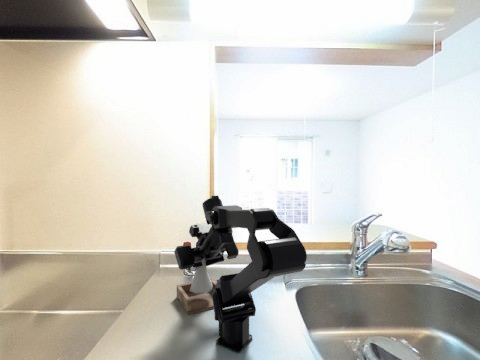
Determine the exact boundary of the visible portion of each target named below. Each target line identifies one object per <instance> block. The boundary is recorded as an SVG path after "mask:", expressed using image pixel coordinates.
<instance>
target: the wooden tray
mask: <svg viewBox="0 0 480 360" xmlns="http://www.w3.org/2000/svg"><path fill="white" fill-rule="evenodd" d="M210 280H211V282H212V285H213V289H215V285H216V284H217V281H215V280H214V279H213V278H212V277H211V278H210ZM191 284H192V282H188V283H184V284H180V285H179V284H178V285H176V298H177V300H178V301H179V302H180V304H181V306H182V307H183V309H184V310H185V312H186V314H187V315H188V316H189V315H194V314H197V313H198V314H199V313H201V312H205V311H208V310H211V309H214V306H213V300H212V295H213V289H212V290H211V291H209V292H208V293H197V294H196V293H193V292H191V291H190V288H191Z"/></svg>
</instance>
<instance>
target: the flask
mask: <svg viewBox="0 0 480 360" xmlns="http://www.w3.org/2000/svg"><path fill="white" fill-rule="evenodd" d="M202 264H203V266H201V267H199V268H197V269H195V272H194V275H193V276H194V277H193V280H192V281H191V283H192V284H191V288H190V291H191V292H193V293H196V294H197V293H208V292H209V291H211V290H212V289H213V285H212V282H211V280H210V279H211V278H210V275H209V272H208V269H207V266H206V260H205V259H203V260H202Z"/></svg>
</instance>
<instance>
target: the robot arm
mask: <svg viewBox="0 0 480 360" xmlns="http://www.w3.org/2000/svg"><path fill="white" fill-rule="evenodd" d="M202 209H203V213H204V218H205V221H206V222H200V223H196V224H192V225H190V227H189V230H188V231H189V232H188V233H189V235H190V236H191V238H196V239H197V242H196V244H197V246H198V247H192V246H191V245H190V244H184V245H177V246H176V247H175V250H174V251H173V253H174V257H175V259H176V260H175V261H176V262H177V265H178V269H179V270H181V271H182V270H187V269H190V268H194V270H196V269H197V268H199V267H201V266H203V264H202V260H203V259H205V260H206V267H209V266H212V265H215V264H218V263H222V262H224V261H225V257H224V254H225V252H226V254H227V255H226V259H227V260H232V259H233V260H234V259H236V258H237V257H238V256H239V249H238V247H237V244H236V242H235V240H234V236H233V233H234V232H233V229H236V228H241V229H242V228H243V229H247V231H248V233H249V234H248V240H247V244H246V249H247V252H248V255H249V256H250V259H251V261H250V262H249V264H247V265H246V266H245V267H244V268H243V269H242V270H240V271H239V272H236V273H232V274H231V273H229V274H223V275H221V276H220V277H219V279H216V283H217V284H216V285H215V289H213V295H212V300H213V306H214V308H213V312H214V321H217V322H218V336H219V337H218V338H217V339H216V341H215V344H217V345H219V346H220V347H221V346H222V347H224V348H226V349H228V350H231V351H233V352H236V353H241V352H242V350H243V349H245V347H246V346H247V344H249V342H250V341H251V340H252V339H253V334H251V333H250V317H255V316H256V310H257V308H256V305H255V302H254V300H253V295H252V292H254V291H255V290H257V289H259V288H260V287H262V286H263V285H265V284H266V283H268V282H269V281H271V280H272V279H273V278H275V277H281V276H285V275H291V274H296V273H301V272H303V271H304V270H305V269H306V266H307V265H306V262H307V256H308V255H307V251H306V248H305V246H304V245H303V243H302V241H301V240H300V238H299V237H298V235H297V233H296V232H295V230H294V229H293V228H292V227H290V226H289V225H288V224H286V223H285V222H284V221H282V220H281V219H280V218H279V217H278V215H277V214H276V212H275V210H274V209H271V208H269V207H262V208H250V209H243V208H242V206H239V205H237V204H236V205H235V204H234V205H224V204H223V202H222V200H221V198H219V195H211V196H210V198H207V199H205V200H204V201H203V202H202ZM262 230H269V231H270V233H271V234H272V235H274V236H275V237H276V238H275V239H268V240H260V241H259V240H258V239H257V236H256V231H262Z"/></svg>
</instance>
